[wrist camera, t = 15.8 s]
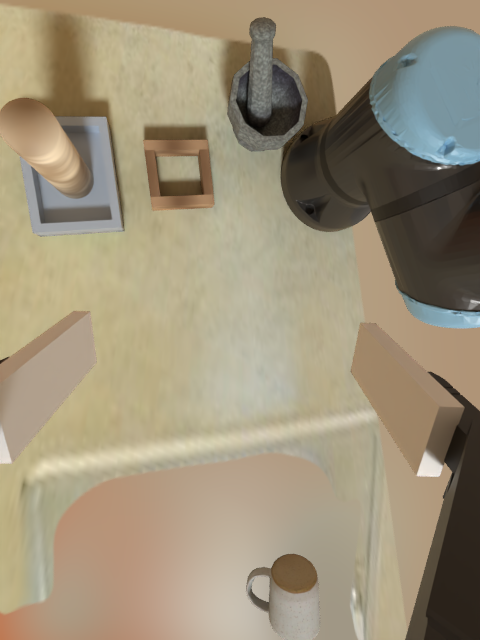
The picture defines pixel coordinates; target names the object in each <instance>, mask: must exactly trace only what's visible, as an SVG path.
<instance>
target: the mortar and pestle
mask: <svg viewBox="0 0 480 640" xmlns="http://www.w3.org/2000/svg"><path fill="white" fill-rule="evenodd" d="M275 31H276V24H275V23H274V22H273V21H272V20H271V19H269V18H265V17H263V18H257V19H255V20H254V21H252V22H251V25H250V36H251V38H252V44H251V59H250V61H249V62H248V63H247V64H246V65H244V66H243V67H242V68H241V69H240V70H239V71H238V72H237V73H236V74H234V77H233V80H232V85H231V91H230V97H229V103H228V112H227V115H228V117H229V119H230V122H231V124H232V126H233V131H234V133H235V136H236V138H237V140H238V143H239V144H240V145H242V146H243V147H245V148H246V149H248V150H249V151H264V150H274V149H279V148H280V147H282V146H283V145H284V144H285V143H286V142H287V141H288V140H289V139H291V138H292V137H293V136H294V135H295V134H296V133H297V132H298V131H299V130H300V129H301V127H302V126H303V125H304V119H305V113H306V108H307V102H308V99H307V97H306V94H305V91H304V89H303V86H302V84H301V81H300V79H299V76H298V74H296V73H295V72H294V71H293V70H291V69H290V68H289V67H287V66H286V65H285V64H284V63H282V62H281V61H280V60H278V59H277V58H273V38H274V36H275Z"/></svg>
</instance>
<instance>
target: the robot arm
mask: <svg viewBox="0 0 480 640" xmlns="http://www.w3.org/2000/svg"><path fill="white" fill-rule="evenodd" d="M281 184H282V190H283V194H284V197H285V199H286V202H287V204H288V206H289V207H290V209H291V210H292V212H293V213H294V214H295V216H296V217H297V218H298V219H299V220H300V221H302V222H303V223H304V224H306V225H307V226H309V227H311V228H313V229H316V230H319V231H325V232H334V231H339V230H343V229H346V228H348V227H351V226H353V225H355V224H357V223H359V222H360V221H362V220H363V219H364V218H365V217H366V216H367V215H368V214H369V213H370V212H372V215H373V218H374V221H375V224H376V227H377V230H378V233H379V235H380V238H381V241H382V244H383V246H384V249H385V252H386V255H387V257H388V260H389V263H390V266H391V268H392V271H393V274H394V277H395V285H396V288H397V289H398V291H399V293H400V294H401V295H402V297H403V299H404V302H405V304H406V306H407V309H408V310H409V311H410V313H412V315H413V316H414V317H416V318H417V319H419V320H420V321H422V322H425V323H428V324H431V325H434V326H440V327H447V328H476V327H480V35H478V34H477V33H476V32H474V31H473V30H471V29H467V28H463V27H456V26H447V27H446V26H445V27H439V28H435V29H431V30H429V31H426V32H424V33H422V34H420V35H418V36H417V37H415V38H414V39H413V40H411V41H410V42H409V43H408V44H407V45H406V46H405V47H403V48H402V49H401V50H400V51H399V52H398V53H397V54H396V55H395V56H393V57H392V58H390V59H388V60H387V61H386V62H385V63H384V64H383V65H381V66H380V68H379V69H378V70H377V71H376V72H375V74H374V76H373V77H372V78H371V79H370V80H369V81H368V82H367V83H366V84H365V85H364V86H363V87H362V89H361V90H360V91H359V92H358V93H357V94H356V95H355V96H354V97H353V98H352V99H351V100H350V101H349V102H348V103H347V104H346V105H345V106H344V108H343V109H342V110H341V111H340V112H339V113H338V114H337V115H336V116H335V117H332V118H329V119H326V120H323V121H320V122H317V123H315V124H313V125H311V126H309V127H308V128H307V129H305V130H304V131H303V132H302V133H301V134H300V135H299V136H298V137H297V138H296V139H295V140H294V142H293V143H292V144H291V146H290V147H289V149H288V150H287V152H286V155H285V157H284V160H283V164H282V170H281ZM96 363H97V359H96V351H95V344H94V336H93V329H92V322H91V314H90V312H89V311H73V312H72V313H70V314H69V315H68V316H66V317H65V318H64V319H62V320H61V321H59V322H58V323H57V324H55V325H54V326H52V327H51V328H50V329H48V330H47V331H45V332H44V333H43V334H41V335H40V336H38V337H37V338H36V339H34V340H33V341H31V342H30V343H29V344H27V345H26V346H25V347H23V348H22V349H20V350H19V351H18V352H16V353H15V354H13V355H12V356H11V357H7V358H5V359H3V360H0V463H11V464H12V463H13V462H14V461H15V459H16V458H17V457H18V456H19V455H20V453H21V452H22V451H23V450H24V449H25V447H26V446H27V445H28V444H29V443H30V441H31V440H32V439H33V438H34V437H35V435H36V434H37V433H38V432H39V431H40V430H41V428H42V427H43V426H44V425H45V424H46V422H47V421H48V420H49V419H50V418H51V416H52V415H53V414H54V413H55V412H56V410H57V409H58V408H59V407H60V406H61V404H62V403H63V402H64V401H65V400H66V398H67V397H68V396H69V395H70V394H71V392H72V391H73V390H74V389H75V388H76V386H77V385H78V384H79V383H80V382H81V380H82V379H83V378H84V377H85V376H86V374H87V373H88V372H89V371H90V370H91V369H92V367H93V366H94V365H95V364H96ZM351 373H352V375H353V376H354V378H355V379H356V381H357V382H358V384H359V386H360V387H361V389H362V390H363V392H364V394H365V395H366V397H367V398H368V400H369V402H370V403H371V405H372V406H373V408H374V409H375V411H376V413H377V414H378V416H379V417H380V419H381V421H382V422H383V424H384V425H385V427H386V428H387V430H388V432H389V433H390V435H391V436H392V438H393V440H394V441H395V443H396V444H397V446H398V448H399V449H400V451H401V452H402V454H403V455H404V457H405V459H406V460H407V462H408V463H409V465H410V467H411V468H412V470H413V471H414V473H415V475H416V476H434V477H435V476H436V477H439V476H440V473H441V470H442V468H443V465H444V463H446V464H447V466H448V467H449V468H450V469H451V471H452V475H451V477H450V480H449V482H448V485H447V487H446V490H445V493H444V495H443V498H444V501H443V505H442V509H441V512H440V516H439V520H438V523H437V526H436V531H435V534H434V538H433V541H432V545H431V548H430V552H429V556H428V559H427V563H426V567H425V570H424V574H423V578H422V581H421V585H420V588H419V592H418V596H417V599H416V603H415V607H414V610H413V614H412V617H411V621H410V625H409V628H408V632H407V635H406V639H405V640H480V411H479V410H478V409H477V408H476V407H474V406H473V405H472V404H471V403H470V402H469V401H468V400H467V399H466V398H465V397H463V396H462V395H460V393H459V392H458V391H457V390H456V389H454V388H453V387H452V386H451V385H450V384H449V383H448V382H447V381H445V380H444V379H443V378H441V377H440V376H438V375H436V374H434V373H432V372H426V370H425V369H424V368H422V367H421V366H420V365H419V364H418V363H417V362H416V361H415V360H414V359H413V358H412V357H411V356H410V355H409V354H408V353H407V352H406V351H405V350H404V349H402V348H401V347H400V346H399V345H398V344H397V343H396V342H395V341H394V340H393V339H392V338H391V337H390V336H389V335H388V334H386V333H385V332H384V331H383V330H382V329H381V328H380V327H379V326H378V325H377V324H376V323H360V327H359V332H358V337H357V342H356V347H355V352H354V357H353V362H352V367H351Z"/></svg>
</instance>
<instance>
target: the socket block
mask: <svg viewBox="0 0 480 640" xmlns="http://www.w3.org/2000/svg"><path fill="white" fill-rule="evenodd" d="M143 142H144V150H145V157H146V165H147V173H148V180H149V188H150V196H151V204H152V210H153V211H154V210H173V209H193V208H212V207H213V205H214V195H213V186H212V177H211V167H210V158H209V149H208V140H143ZM156 156H198V161H199V170H200V179H201V188H202V195H187V196H163V197H160V190H159V182H158V175H157V167H156V159H155V157H156Z"/></svg>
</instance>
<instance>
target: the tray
mask: <svg viewBox="0 0 480 640" xmlns="http://www.w3.org/2000/svg"><path fill="white" fill-rule="evenodd" d="M55 118H56V119H57V121H58V122H59V124H60V125H61V127H62V128H63V130H64V131H65V133H66V134H67V136H68V138H69V139H70V141H71V142H72V144H73V145H74V147H75V148H76V150H77V151H78V153H79V154H80V156H81V157H82V159H83V160H84V162H85V163H86V165H87V166H88V168H89V170H90V171H91V173H92V175H93V179H94V184H93V188H92V190H91V192H90V193H89V194H88V195H87V196H85V197H83V198H79V199H73V198H69V197H66V196H64V195H63V194H61V193H60V192H59V191H58V190H57V189H56V188H55V187H54V186H53V185H51V184H50V183H49V182H48V181H47V180H46V179H45V178H44V177H43V176H42V175H41V174H39V173H38V172H37V171H36V170H35V169H34V168H33V167H32V166H31V165H30V164H28V163H27V162H26V161H25V160H24V159H23V158H22V157H21V156H20V161H21V167H22V172H23V178H24V184H25V190H26V196H27V202H28V207H29V213H30V219H31V225H32V231H33V233H34V234H37V235H39V236H56V235H72V234H87V233H103V232H119V231H124V225H123V218H122V211H121V204H120V197H119V190H118V183H117V176H116V168H115V161H114V154H113V147H112V140H111V133H110V127H109V124H108V121H107V118H106V117H62V116H55Z"/></svg>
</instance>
